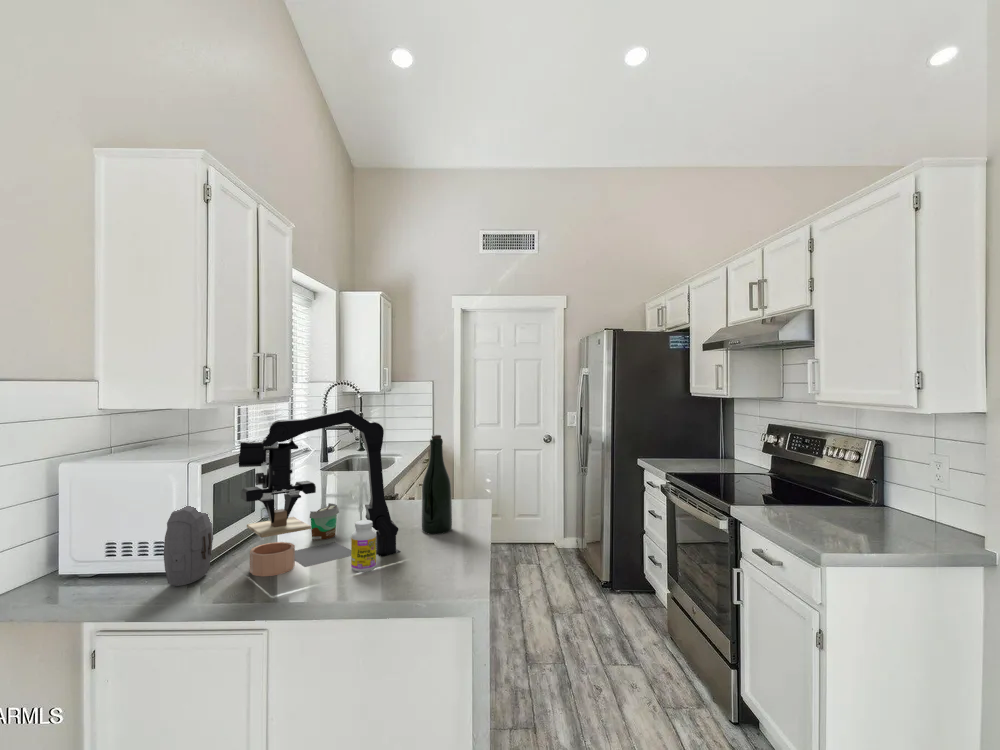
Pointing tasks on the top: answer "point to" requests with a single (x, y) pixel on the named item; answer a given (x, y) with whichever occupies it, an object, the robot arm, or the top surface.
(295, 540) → the top surface
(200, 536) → the small grey backpack
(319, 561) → the mat
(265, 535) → the lid
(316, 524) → the food container
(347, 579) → the top surface
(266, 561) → the bowl
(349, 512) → the top surface
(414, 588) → the top surface
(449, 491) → the dark green wine bottle
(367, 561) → the supplement bottle
